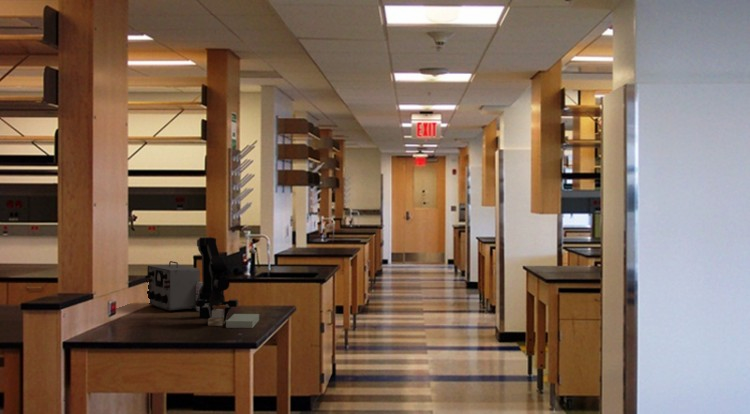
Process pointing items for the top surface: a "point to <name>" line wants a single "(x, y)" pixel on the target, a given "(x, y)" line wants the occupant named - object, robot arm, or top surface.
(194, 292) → the vintage electronic device
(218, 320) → the tall tan box
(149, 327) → the top surface
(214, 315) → the box
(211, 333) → the top surface
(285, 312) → the top surface
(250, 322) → the dock
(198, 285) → the supplement can
